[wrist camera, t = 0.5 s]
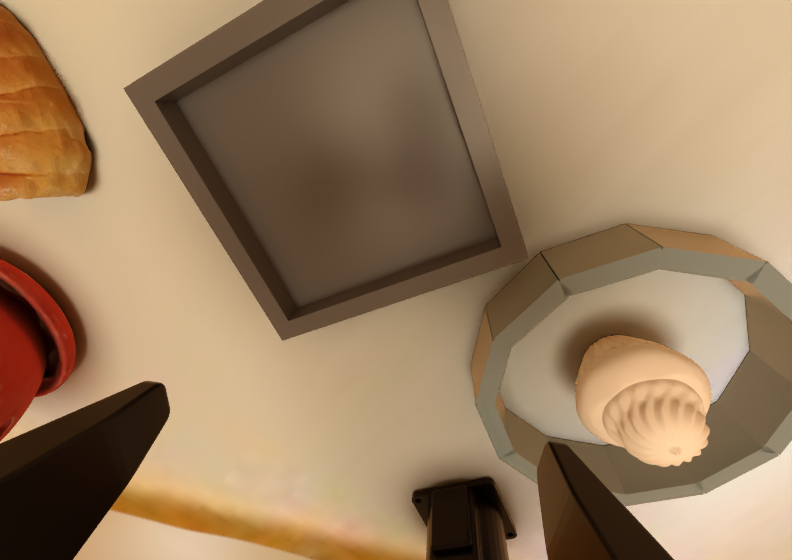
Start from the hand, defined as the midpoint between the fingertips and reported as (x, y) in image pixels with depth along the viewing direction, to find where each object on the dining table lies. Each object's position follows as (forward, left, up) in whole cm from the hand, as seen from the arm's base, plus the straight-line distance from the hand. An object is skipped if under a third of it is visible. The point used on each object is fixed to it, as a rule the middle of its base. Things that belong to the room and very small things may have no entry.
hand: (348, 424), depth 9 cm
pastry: (+14, +16, -14) cm, 25 cm away
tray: (+5, +1, -13) cm, 14 cm away
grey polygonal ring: (-11, -9, -13) cm, 20 cm away
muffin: (-11, -9, -14) cm, 20 cm away
